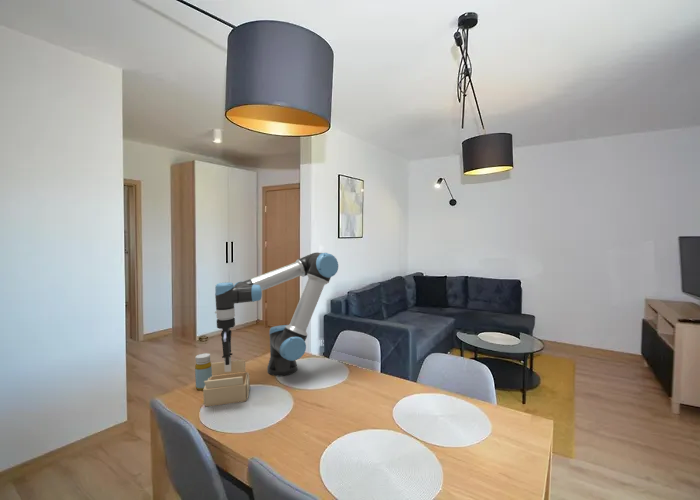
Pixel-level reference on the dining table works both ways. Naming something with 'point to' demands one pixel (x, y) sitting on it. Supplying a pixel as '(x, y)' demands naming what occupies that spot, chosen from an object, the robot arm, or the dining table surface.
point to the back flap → (235, 367)
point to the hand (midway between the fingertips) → (228, 371)
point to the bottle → (202, 370)
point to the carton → (227, 391)
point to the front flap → (223, 382)
